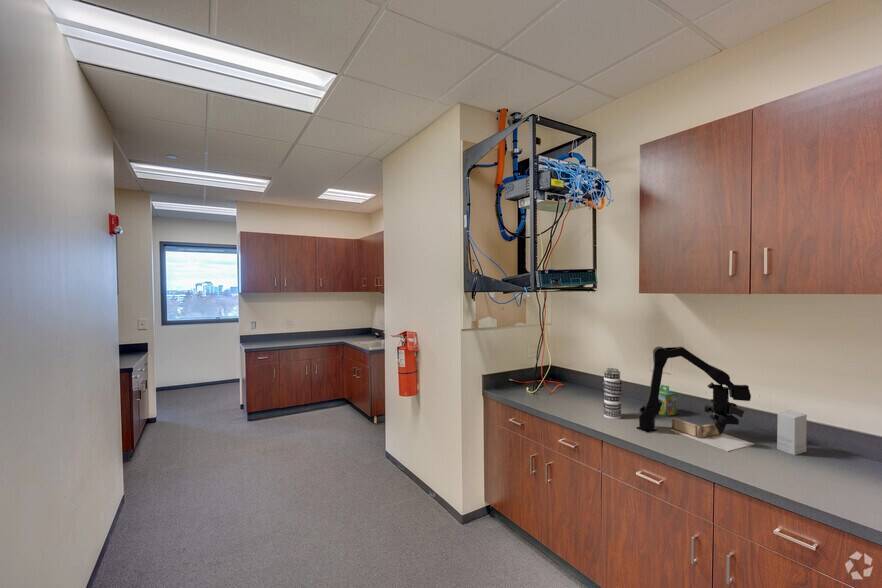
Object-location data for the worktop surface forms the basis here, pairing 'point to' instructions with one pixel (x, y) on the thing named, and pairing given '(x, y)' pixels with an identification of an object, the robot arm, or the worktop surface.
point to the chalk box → (667, 401)
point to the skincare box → (791, 432)
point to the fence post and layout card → (715, 440)
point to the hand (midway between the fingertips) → (720, 433)
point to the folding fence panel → (709, 430)
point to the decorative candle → (612, 393)
